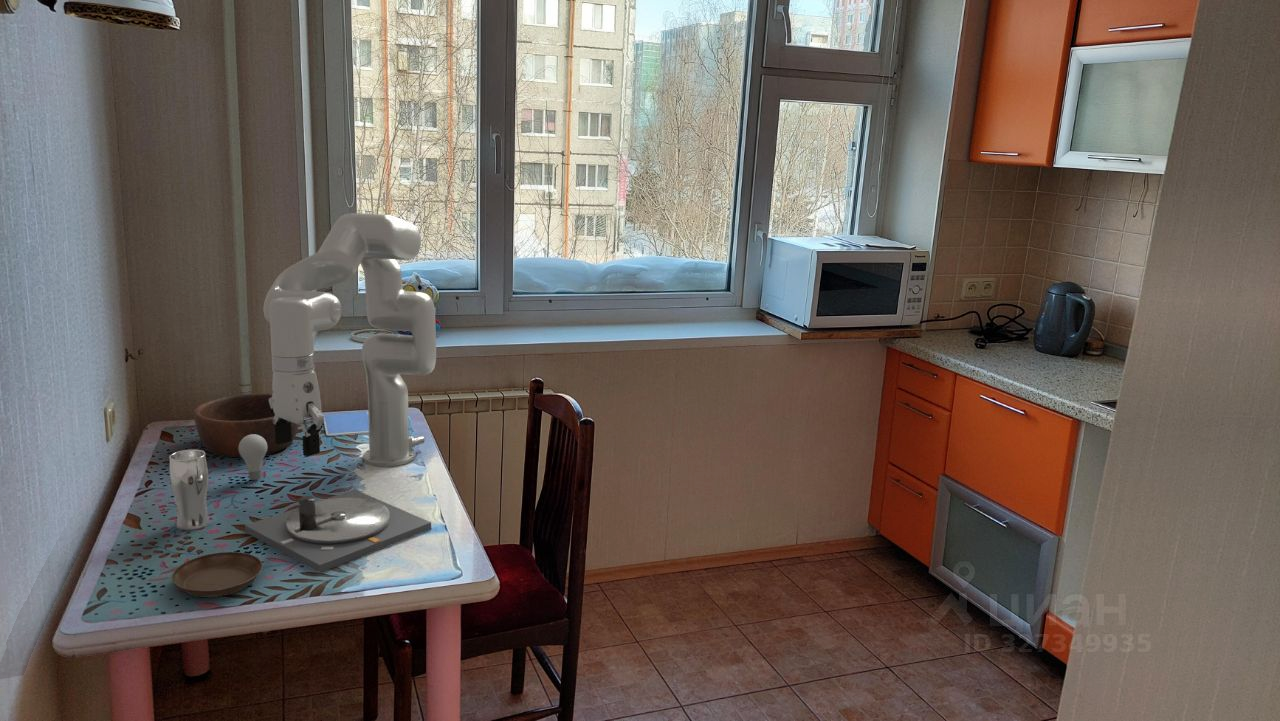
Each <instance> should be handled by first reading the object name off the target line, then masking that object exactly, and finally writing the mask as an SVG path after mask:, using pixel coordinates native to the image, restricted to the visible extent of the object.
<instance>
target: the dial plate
mask: <svg viewBox="0 0 1280 721" xmlns="http://www.w3.org/2000/svg"><path fill="white" fill-rule="evenodd" d="M335 498H362V499H369V500H373V501H376V502H379V503H381V504H383V505H385V506H386V507H387V508H388V510H389V512H390V521H389V523H388V525H387V526H386V527H385V528H384V529H383V530H381V531H380V532H378V533H376V534H374V535H372V536H370V537H367V538H364V539H360V540H356V541H351V542H345V543H335V544H319V543H310V542H305V541H301V540H298V539H296V538H294V537H292V536H291V535H290V534H289V533H288V531H287V527H286V520H287V518H288V516H289V515H290V514H291V513H292V512H294V511H295V510H297V509H299V507H296V508H293V509H290V510H287V511H284V512H281V513H278V514H275V515H272V516H269V517H266V518H262V519H259V520H256V521H253V522H249V523H248V524H247V523H246V524H244V532H245V533H246V534H248V535H250V536H252V537H254V538H255V539H258V540H260V541H261V542H263V543H265V544H267V545H269V546H270V547H272V548H274V549H276V550H278V551H280V552H281V553H283V554H285V555H287V556H289V557H291V558H292V557H293V558H292V559H294V558H295V560H296V561H298V562H300V563H302V564H303V565H305V564H306V566H308V567H309V568H310V569H313V570H315V571H316V572H318V571H319V573H322V572H323V573H324V572H325V571H327V570H330V569H332V568H336V567H339V566H340V565H343V564H345V563H346V564H347V563H348V562H351V561H353V560H355V559H358V558H361V557H364V556H366V555H368V554H371V553H374V552H376V551H379V550H382V549H384V548H387V547H389V546H391V545H395V544H397V543H399V542H403V541H405V540H406V539H410V538H413V537H415V536H417V535H420V534H422V533H424V532H427V531H431V530H432V521H429V520H427V519H424V518H422V517H420V516H418V515H415V514H413V513H410V512H408V511H406V510H404V509H401V508H398V507H396V506H394V505H392V504H389V503H387V502H385V501H383V500H381V499H378V498H376V497H373V496H371V495H369V494H366V493H364V492H362V491H359V490H357V489H353V490H349V491H346V492H343V493H339V494H337V495H334V496H331V497H328V498H323V499H322V500H328V499H335ZM322 500H320V501H322Z"/></svg>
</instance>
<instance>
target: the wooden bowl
mask: <svg viewBox="0 0 1280 721" xmlns="http://www.w3.org/2000/svg"><path fill="white" fill-rule="evenodd" d="M271 397H272V393H246V394H244V393H243V394H233V395H229V396H228V395H227V396H223V397H219V398H215V399H211V400H209V401H206V402H204V403H201V404H200V405H198V406H196V408H194V410H193V419H194V424H195V428H196V432H197V434H198V437H199V439H200V441H201V443H202V444H203V446H204V447H205V448H206V449H207V450H208V452H210V453H212V454H214V455H217V456H220V457H228V458H242V456H241V455H240V453H239V449H238V447H239V443H240V441H241V440H242V439H243V438H244V437H246V436H248V435H251V434H256V435H259V436H261V437H263V438H264V439H265V440H266V442H267V452H266V454H265V456H266V455H269V454H274V453H277V452H280V451H282V450H284V449H286V448H287V447H289V446H290V445H291V444H292V442H294V440H295V438H296V435H297V434H298V431H299V426H300V425H298V424H295V423H292V422H291V434H292V441H291V442H287V443H283V444H279V445H278V444H276V443H275V426H274V425H276V424H274V423H273V418H274V417H273V415H272V413H271V407H270V404H269V398H271ZM287 422H289V421H287Z"/></svg>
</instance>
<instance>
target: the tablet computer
mask: <svg viewBox="0 0 1280 721" xmlns="http://www.w3.org/2000/svg"><path fill="white" fill-rule="evenodd" d="M329 414H330V415H329ZM322 415H323V416H324V420H323V424H324V430H325V431H324V432H325V436H326V437H327V436H337V435H350V436H358V435H357V434H359V435H361V434H362V435H369V420H368V410H365V411H353V412H352V411H348V412H337V413H336V412H335V413H333V414H332V413H324V414H322ZM355 434H356V435H355ZM337 437H338V436H337Z"/></svg>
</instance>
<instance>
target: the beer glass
mask: <svg viewBox="0 0 1280 721" xmlns="http://www.w3.org/2000/svg"><path fill="white" fill-rule="evenodd" d="M206 456H207V454H206V452H205V451H204V450H202V449H201V450H200V449H185V450H183V449H182V450H179V451H176V452H173V453H171V454H169V456H168V458H169V464H168V466H169V469H168V470H169V471H168V472H169V482H170V486H171V489H172V494H173V497H174V500H175V504H176V507H177V508H176V509H177V518H176V528H177V529H179V530H182V531H194V530H199V529H202V528H205V527H206V526H208V525H209V524H210V516H209V514H208V513H209V512H208V509H207V497H208V488H209V469H208V468H209V467H208V461H207V457H206Z"/></svg>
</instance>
